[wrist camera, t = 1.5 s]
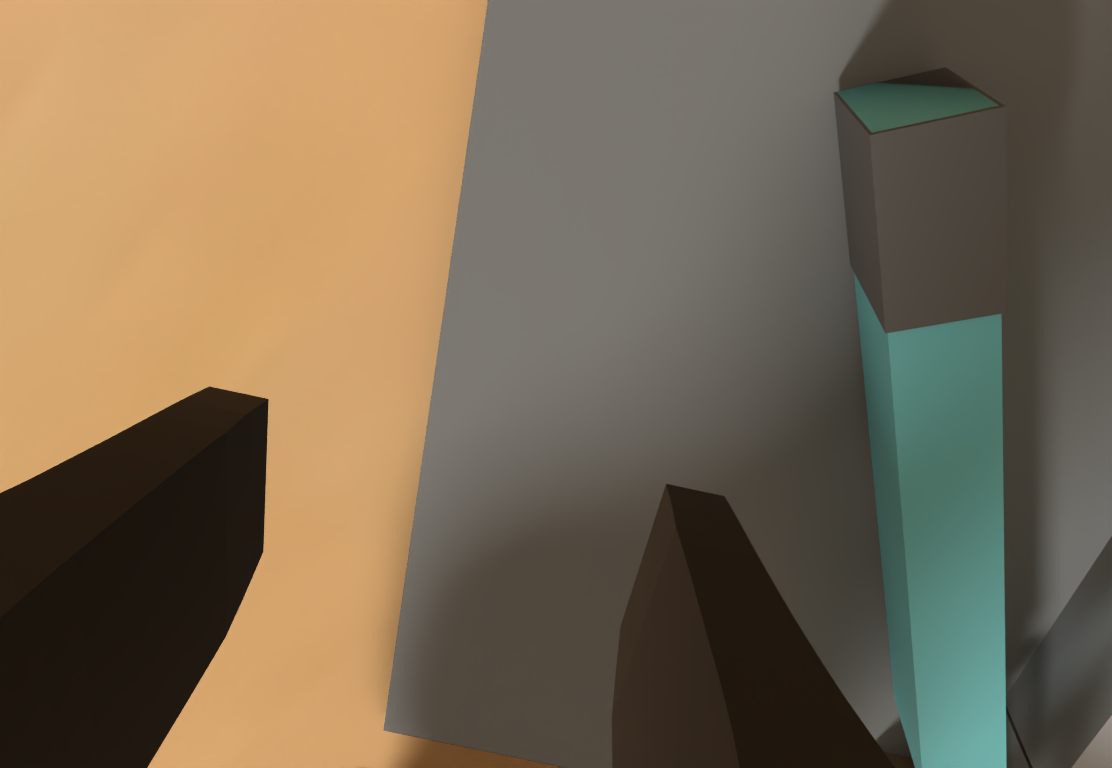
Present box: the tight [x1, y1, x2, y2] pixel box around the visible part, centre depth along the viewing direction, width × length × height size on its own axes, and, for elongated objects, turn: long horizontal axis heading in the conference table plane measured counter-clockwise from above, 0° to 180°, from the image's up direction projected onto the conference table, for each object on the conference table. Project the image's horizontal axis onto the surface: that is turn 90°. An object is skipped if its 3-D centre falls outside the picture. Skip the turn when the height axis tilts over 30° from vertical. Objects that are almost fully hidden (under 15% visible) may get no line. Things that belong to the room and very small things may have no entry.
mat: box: [384, 0, 1112, 768], centre depth 18 cm, size 22×18×1 cm
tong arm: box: [833, 67, 1007, 768], centre depth 16 cm, size 14×2×3 cm, turn 14°
